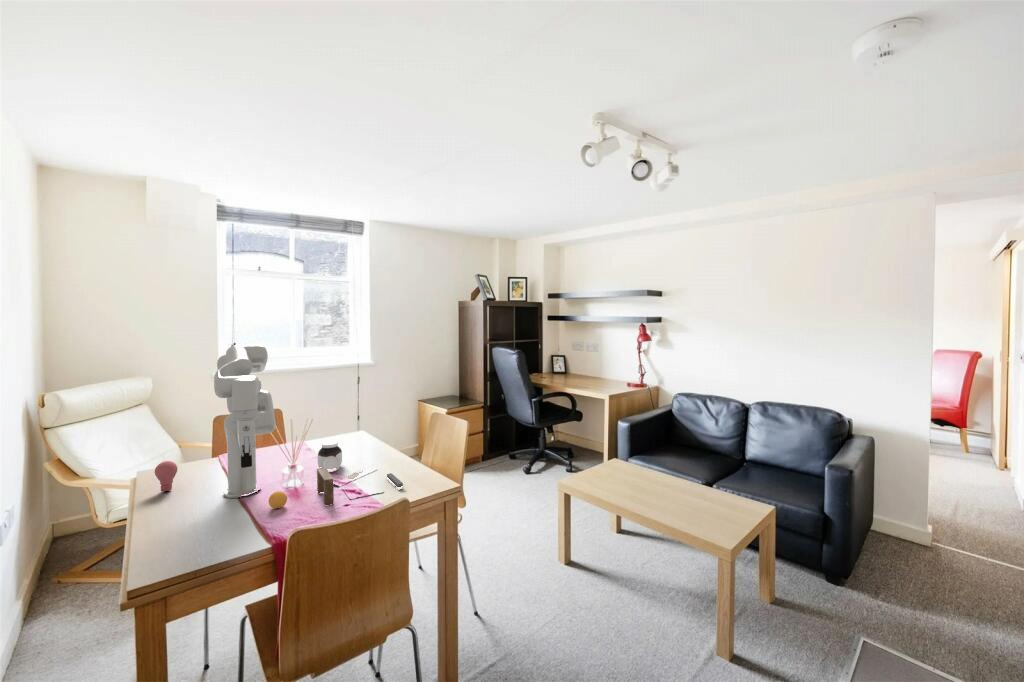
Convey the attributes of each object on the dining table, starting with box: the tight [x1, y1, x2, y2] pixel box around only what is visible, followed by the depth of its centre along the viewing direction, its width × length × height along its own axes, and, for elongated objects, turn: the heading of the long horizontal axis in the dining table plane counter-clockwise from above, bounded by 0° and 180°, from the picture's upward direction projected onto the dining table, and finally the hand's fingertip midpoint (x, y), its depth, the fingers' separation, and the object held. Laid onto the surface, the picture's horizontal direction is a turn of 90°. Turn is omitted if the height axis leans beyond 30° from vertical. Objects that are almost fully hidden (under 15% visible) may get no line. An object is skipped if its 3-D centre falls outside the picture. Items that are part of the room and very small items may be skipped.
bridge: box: [316, 467, 335, 506], centre depth 171 cm, size 3×15×10 cm, turn 33°
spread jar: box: [317, 440, 343, 470], centre depth 204 cm, size 12×11×12 cm
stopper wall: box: [386, 473, 404, 487], centre depth 186 cm, size 14×2×2 cm, turn 33°
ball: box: [268, 490, 288, 509], centre depth 162 cm, size 6×6×6 cm
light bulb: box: [154, 460, 178, 493], centre depth 177 cm, size 7×7×12 cm
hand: (246, 466), depth 156 cm, fingers closed
